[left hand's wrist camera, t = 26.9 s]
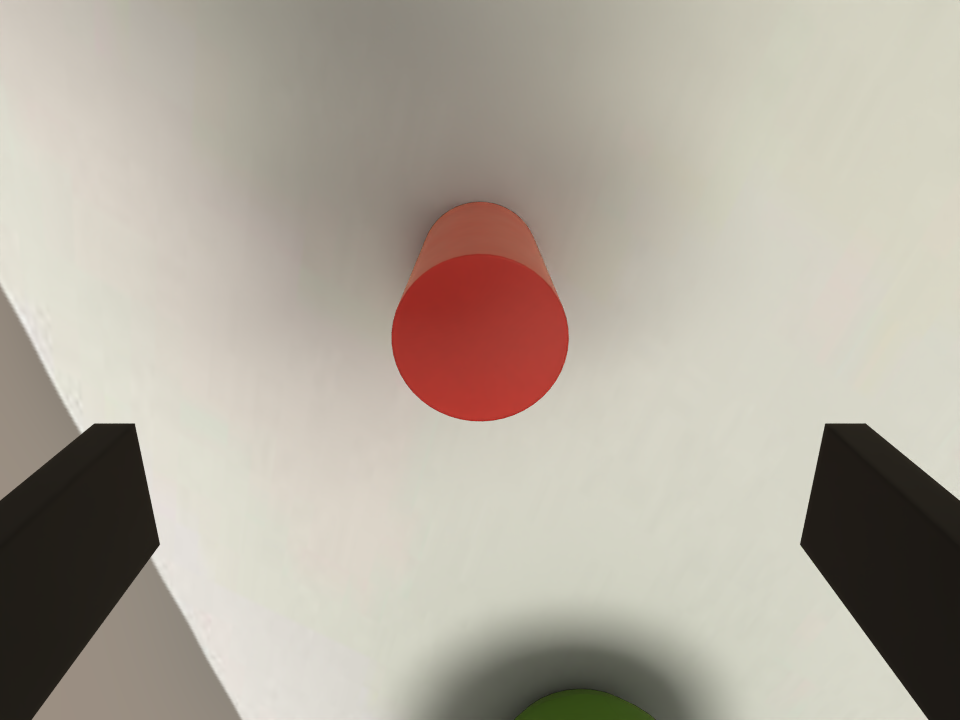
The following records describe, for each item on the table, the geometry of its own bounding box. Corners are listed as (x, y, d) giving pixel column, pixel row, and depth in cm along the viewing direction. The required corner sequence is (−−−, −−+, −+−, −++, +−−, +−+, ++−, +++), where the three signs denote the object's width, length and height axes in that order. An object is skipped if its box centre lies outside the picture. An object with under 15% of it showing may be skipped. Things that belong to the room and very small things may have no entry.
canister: (538, 200, 31) (571, 251, 20) (537, 314, 33) (566, 420, 22) (418, 203, 31) (384, 256, 20) (425, 317, 33) (397, 423, 22)
